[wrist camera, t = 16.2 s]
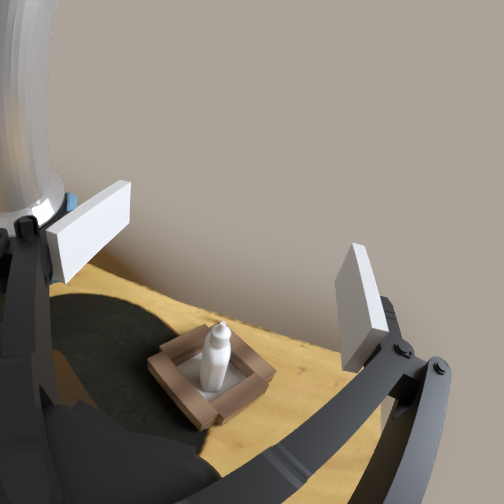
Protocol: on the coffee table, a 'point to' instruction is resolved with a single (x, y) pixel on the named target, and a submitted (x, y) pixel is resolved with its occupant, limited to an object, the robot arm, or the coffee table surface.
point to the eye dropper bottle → (215, 358)
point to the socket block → (188, 383)
